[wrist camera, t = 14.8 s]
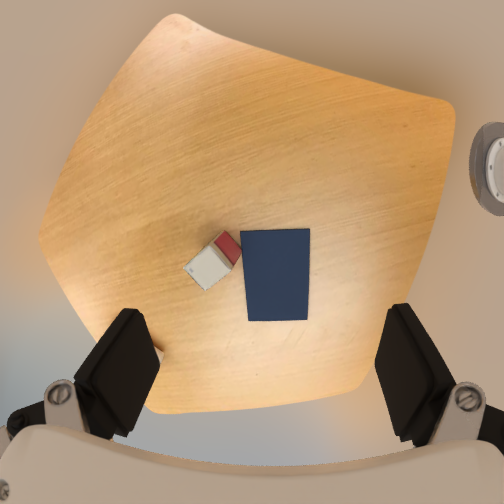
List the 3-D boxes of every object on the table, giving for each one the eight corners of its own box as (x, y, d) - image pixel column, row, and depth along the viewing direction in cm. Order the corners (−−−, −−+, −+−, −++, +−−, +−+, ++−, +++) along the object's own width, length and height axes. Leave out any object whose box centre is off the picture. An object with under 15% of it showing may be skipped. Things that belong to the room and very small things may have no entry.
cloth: (309, 228, 39) (309, 229, 39) (307, 318, 46) (307, 319, 45) (240, 231, 40) (240, 231, 40) (248, 319, 47) (248, 321, 46)
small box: (219, 269, 43) (204, 292, 35) (201, 248, 42) (181, 268, 35) (243, 250, 41) (232, 271, 34) (224, 228, 40) (208, 244, 33)
